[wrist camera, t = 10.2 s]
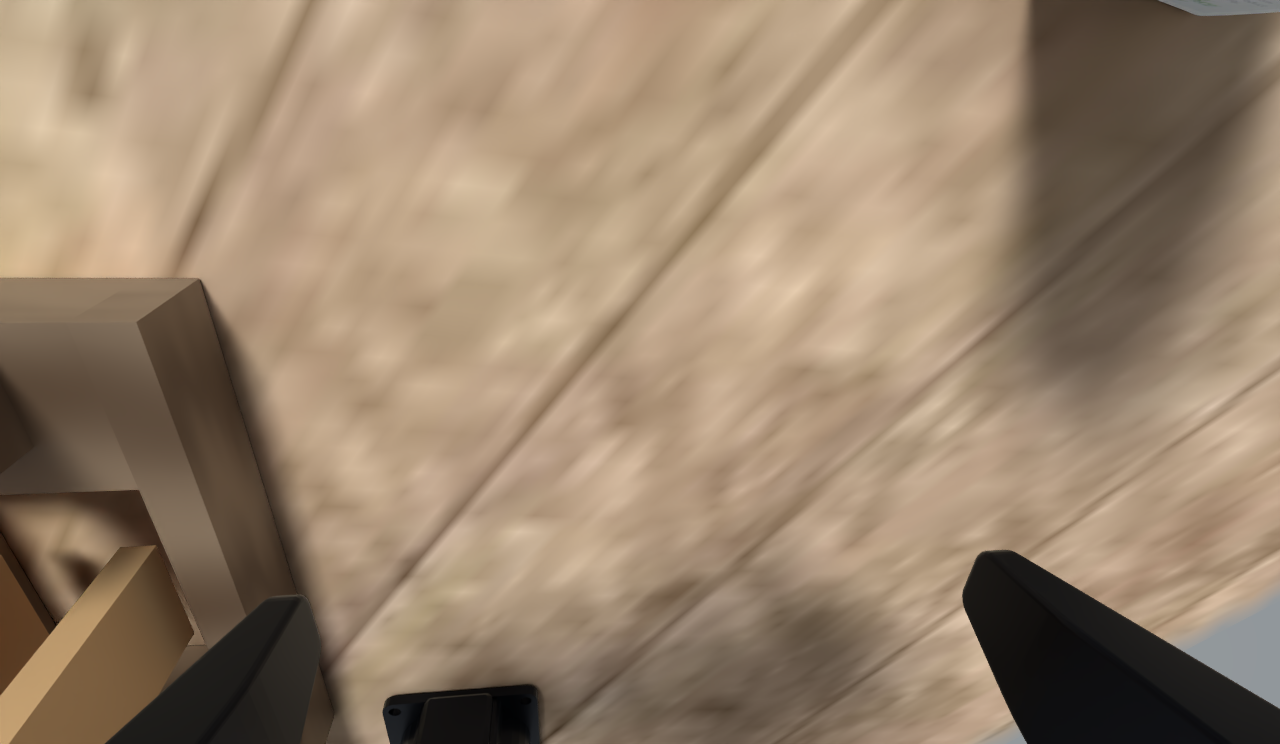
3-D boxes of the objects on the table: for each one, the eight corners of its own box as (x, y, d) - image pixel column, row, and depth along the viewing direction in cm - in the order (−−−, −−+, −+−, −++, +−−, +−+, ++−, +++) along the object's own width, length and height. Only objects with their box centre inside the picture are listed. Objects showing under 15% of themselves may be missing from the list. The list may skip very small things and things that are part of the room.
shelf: (334, 715, 27) (257, 954, 20) (79, 736, 26) (-98, 1000, 19) (199, 278, 17) (-40, 443, 10) (-219, 277, 16) (-809, 465, 9)
